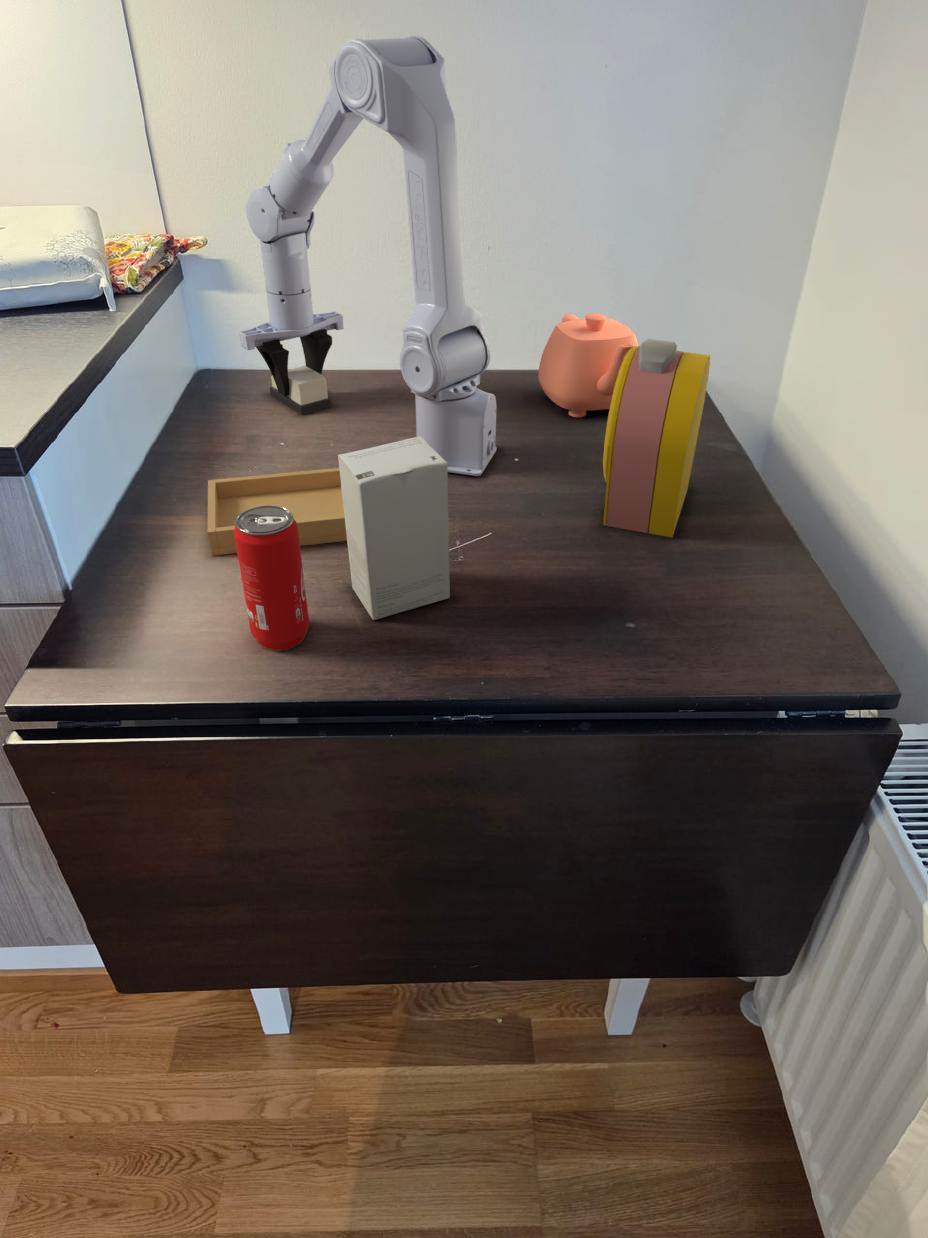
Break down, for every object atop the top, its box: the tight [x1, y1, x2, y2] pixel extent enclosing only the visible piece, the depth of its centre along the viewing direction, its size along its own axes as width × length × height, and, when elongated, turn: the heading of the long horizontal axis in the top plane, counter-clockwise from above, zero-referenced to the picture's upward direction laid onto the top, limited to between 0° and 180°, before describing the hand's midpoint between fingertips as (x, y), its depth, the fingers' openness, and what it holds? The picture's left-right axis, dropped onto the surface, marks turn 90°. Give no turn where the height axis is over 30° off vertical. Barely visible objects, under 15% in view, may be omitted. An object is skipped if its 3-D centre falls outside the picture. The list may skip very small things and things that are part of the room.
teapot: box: [537, 312, 639, 418], centre depth 118 cm, size 13×20×12 cm, turn 18°
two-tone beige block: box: [269, 365, 332, 416], centre depth 121 cm, size 9×5×4 cm, turn 38°
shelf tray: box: [207, 467, 347, 557], centre depth 94 cm, size 16×12×3 cm
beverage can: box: [234, 506, 310, 652], centre depth 75 cm, size 5×5×12 cm
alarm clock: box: [602, 338, 711, 538], centre depth 93 cm, size 15×8×18 cm, turn 160°
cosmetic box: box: [337, 436, 451, 621], centre depth 79 cm, size 8×6×15 cm
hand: (299, 389), depth 121 cm, fingers closed on two-tone beige block, 4 cm apart
